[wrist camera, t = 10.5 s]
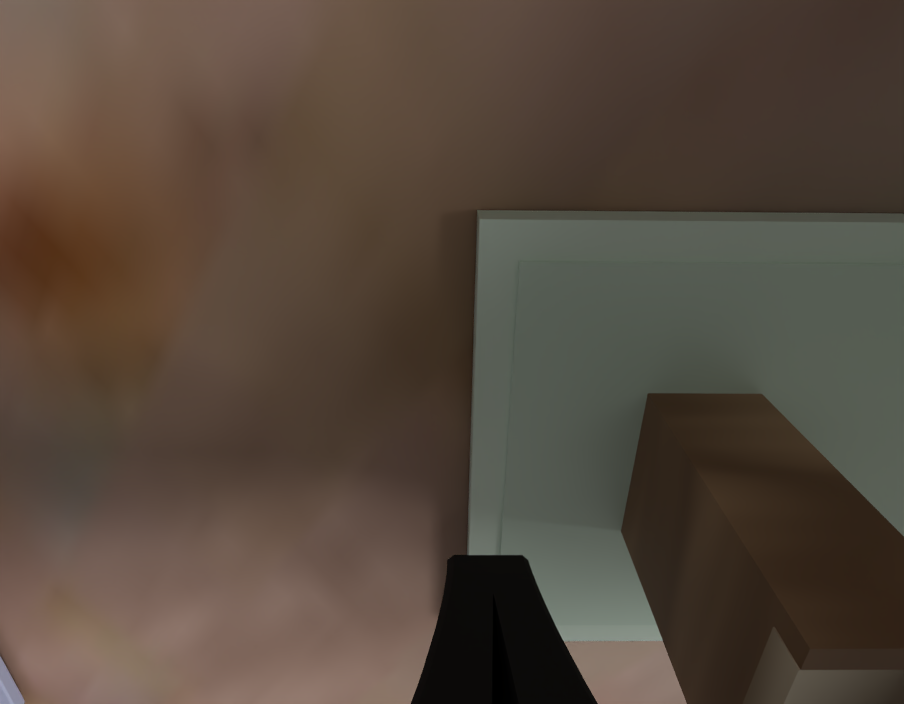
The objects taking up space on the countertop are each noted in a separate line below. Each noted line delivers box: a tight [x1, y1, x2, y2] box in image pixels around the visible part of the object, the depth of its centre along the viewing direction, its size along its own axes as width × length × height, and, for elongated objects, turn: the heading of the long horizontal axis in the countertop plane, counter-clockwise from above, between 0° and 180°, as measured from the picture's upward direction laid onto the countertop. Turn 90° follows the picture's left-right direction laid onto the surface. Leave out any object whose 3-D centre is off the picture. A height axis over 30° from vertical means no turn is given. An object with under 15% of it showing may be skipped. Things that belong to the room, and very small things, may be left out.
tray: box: [467, 210, 904, 641], centre depth 14 cm, size 14×12×1 cm
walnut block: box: [621, 393, 904, 704], centre depth 10 cm, size 2×4×6 cm, turn 179°
